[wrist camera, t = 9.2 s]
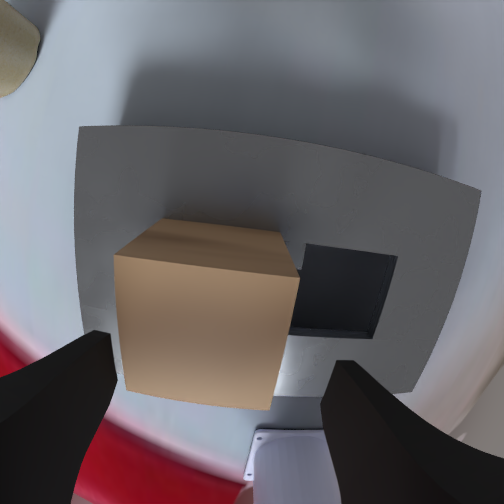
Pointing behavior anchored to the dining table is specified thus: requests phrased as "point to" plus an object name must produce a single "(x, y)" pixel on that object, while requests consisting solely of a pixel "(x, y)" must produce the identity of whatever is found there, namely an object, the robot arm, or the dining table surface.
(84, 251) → the grey slotted base block
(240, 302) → the peg
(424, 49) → the dining table surface
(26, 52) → the flower pot
